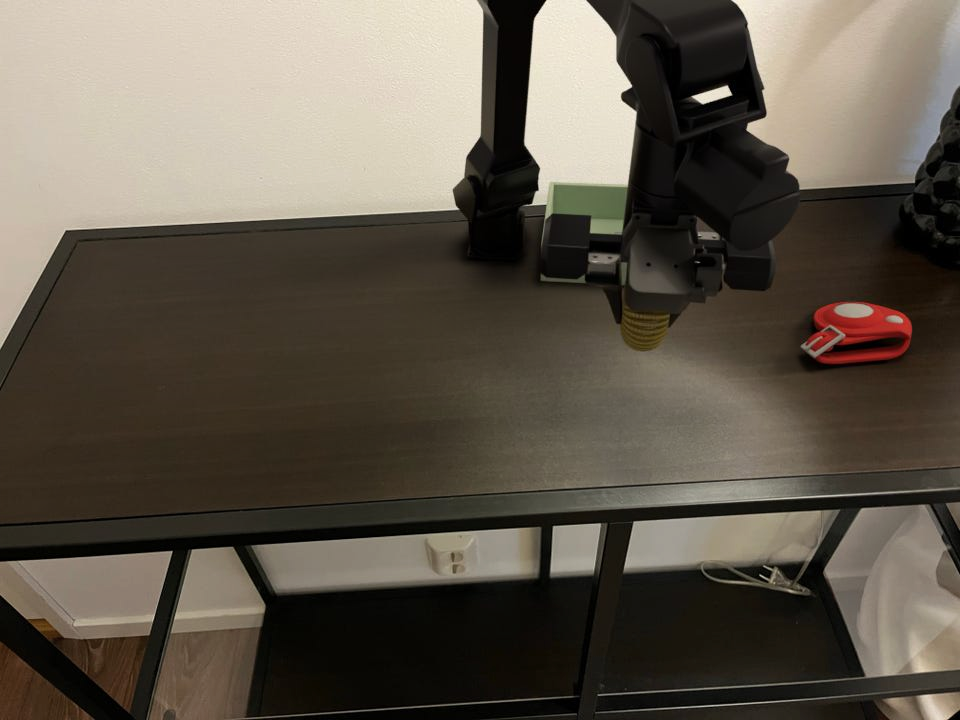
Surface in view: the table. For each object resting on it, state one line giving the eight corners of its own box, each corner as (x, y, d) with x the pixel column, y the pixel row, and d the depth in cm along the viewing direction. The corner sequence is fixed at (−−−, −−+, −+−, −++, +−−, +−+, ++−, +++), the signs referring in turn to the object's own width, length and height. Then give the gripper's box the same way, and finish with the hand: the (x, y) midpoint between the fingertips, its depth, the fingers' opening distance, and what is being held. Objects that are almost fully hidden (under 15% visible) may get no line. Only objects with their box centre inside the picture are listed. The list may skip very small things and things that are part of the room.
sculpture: (620, 308, 73) (629, 242, 67) (662, 311, 72) (674, 246, 66) (616, 367, 68) (625, 302, 62) (661, 372, 67) (675, 306, 61)
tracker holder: (816, 290, 86) (916, 296, 81) (814, 324, 88) (911, 332, 83) (798, 337, 77) (909, 347, 72) (796, 374, 79) (904, 386, 74)
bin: (540, 281, 91) (541, 244, 87) (548, 217, 100) (549, 181, 96) (650, 286, 89) (656, 249, 85) (648, 221, 98) (653, 185, 94)
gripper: (535, 234, 53) (532, 380, 64) (810, 249, 50) (757, 398, 62) (548, 150, 60) (543, 293, 72) (787, 159, 58) (744, 307, 69)
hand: (642, 322), depth 68 cm, fingers closed on sculpture, 4 cm apart
